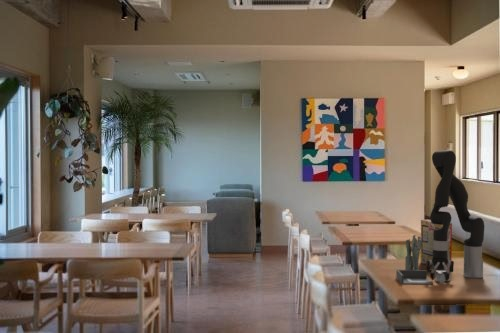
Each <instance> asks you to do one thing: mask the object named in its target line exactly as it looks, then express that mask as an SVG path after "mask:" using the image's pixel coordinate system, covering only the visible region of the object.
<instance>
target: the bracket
mask: <svg viewBox="0 0 500 333" xmlns="http://www.w3.org/2000/svg"><path fill="white" fill-rule="evenodd" d="M404 243H405V249H406V255H405V257H404V258H405V262H404V263H405V264H404V266H405V267H404V268H405V269H404V270H419V259H420V254H421V243H422V240H421V236H417V238H416V234H414V235H412V240H410V238H408V239H407V240H405V242H404Z"/></svg>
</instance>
